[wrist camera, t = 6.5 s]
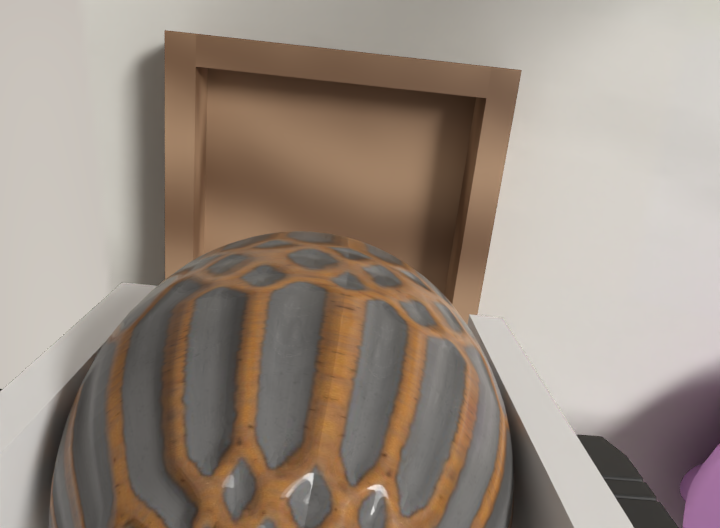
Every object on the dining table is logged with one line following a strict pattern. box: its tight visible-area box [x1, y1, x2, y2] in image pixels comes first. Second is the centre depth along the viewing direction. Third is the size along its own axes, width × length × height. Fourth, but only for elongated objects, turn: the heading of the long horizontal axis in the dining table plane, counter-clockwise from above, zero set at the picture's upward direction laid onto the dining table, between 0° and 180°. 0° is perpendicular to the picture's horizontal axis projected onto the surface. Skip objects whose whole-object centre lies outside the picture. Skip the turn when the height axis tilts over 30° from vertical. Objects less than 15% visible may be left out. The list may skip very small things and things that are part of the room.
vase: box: [49, 231, 514, 528], centre depth 9 cm, size 7×7×9 cm
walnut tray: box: [165, 30, 522, 324], centre depth 26 cm, size 14×14×3 cm
